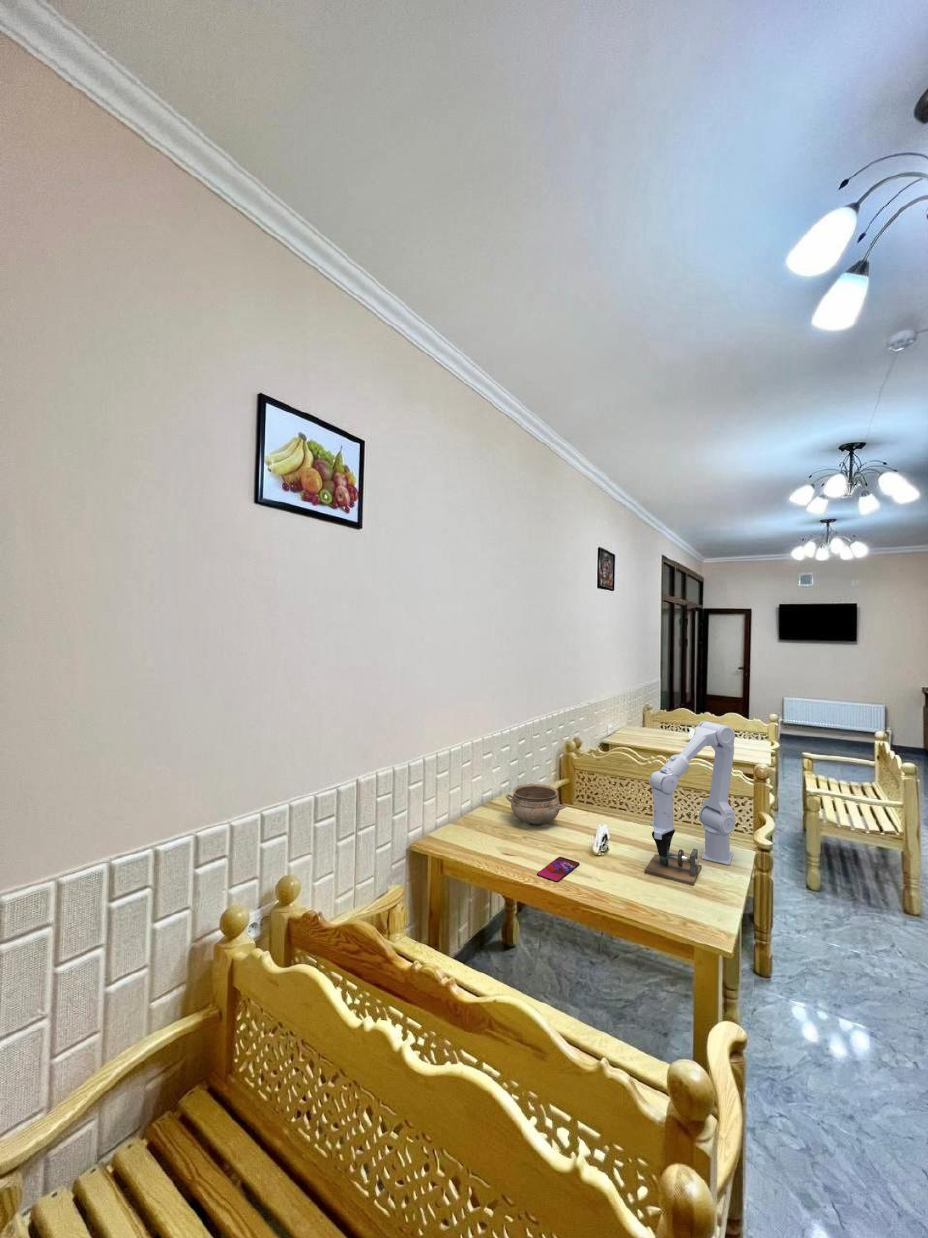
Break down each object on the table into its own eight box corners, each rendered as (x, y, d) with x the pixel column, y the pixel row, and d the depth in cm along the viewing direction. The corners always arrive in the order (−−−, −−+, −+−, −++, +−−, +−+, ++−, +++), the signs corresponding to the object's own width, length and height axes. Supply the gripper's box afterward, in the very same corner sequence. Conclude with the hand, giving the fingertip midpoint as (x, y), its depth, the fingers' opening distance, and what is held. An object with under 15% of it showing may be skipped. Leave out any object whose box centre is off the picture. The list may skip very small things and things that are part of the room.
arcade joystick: (661, 859, 162) (661, 836, 162) (700, 868, 155) (699, 844, 156) (657, 865, 158) (657, 841, 158) (696, 875, 151) (696, 850, 151)
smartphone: (535, 873, 156) (559, 855, 167) (535, 876, 156) (559, 858, 167) (557, 881, 151) (580, 862, 162) (557, 884, 151) (580, 865, 162)
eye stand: (655, 857, 167) (655, 835, 167) (701, 868, 159) (701, 845, 159) (644, 873, 156) (644, 849, 156) (693, 886, 148) (693, 861, 148)
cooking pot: (574, 820, 198) (574, 789, 199) (557, 838, 182) (557, 804, 182) (516, 809, 211) (516, 779, 211) (495, 824, 195) (495, 793, 195)
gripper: (655, 801, 167) (656, 842, 167) (643, 815, 156) (644, 860, 155) (678, 805, 163) (679, 848, 163) (668, 820, 152) (668, 866, 151)
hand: (663, 854), depth 159 cm, fingers closed on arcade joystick, 3 cm apart
